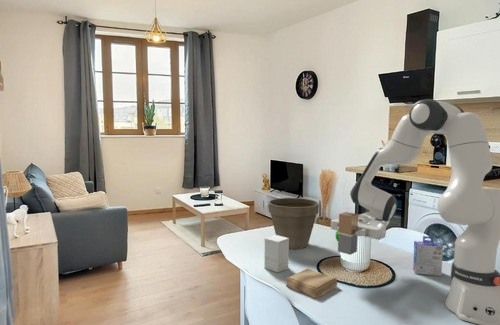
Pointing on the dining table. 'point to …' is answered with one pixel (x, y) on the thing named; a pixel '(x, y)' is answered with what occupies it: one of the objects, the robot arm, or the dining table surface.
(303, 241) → the plant pot
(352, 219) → the block
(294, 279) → the oak plinth
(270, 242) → the supplement box
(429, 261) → the ink cartridge box
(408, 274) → the dining table surface
